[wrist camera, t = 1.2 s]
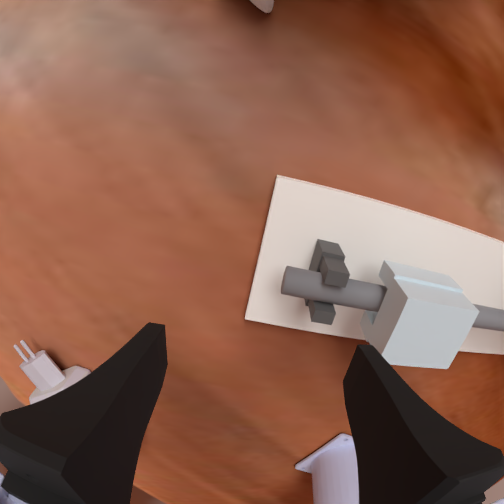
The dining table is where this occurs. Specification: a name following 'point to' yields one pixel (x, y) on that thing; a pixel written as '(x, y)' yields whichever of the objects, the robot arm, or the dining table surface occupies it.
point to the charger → (47, 374)
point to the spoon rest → (264, 5)
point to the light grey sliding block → (419, 317)
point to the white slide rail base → (364, 262)
